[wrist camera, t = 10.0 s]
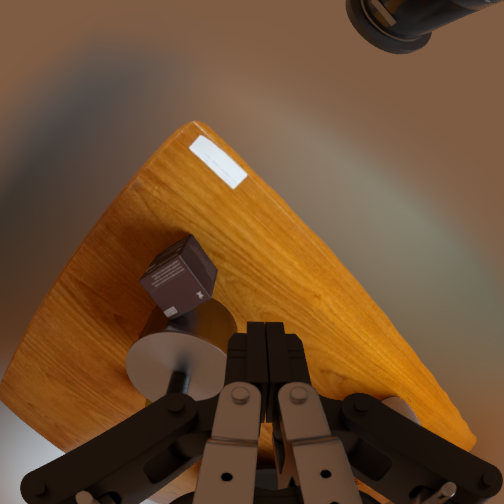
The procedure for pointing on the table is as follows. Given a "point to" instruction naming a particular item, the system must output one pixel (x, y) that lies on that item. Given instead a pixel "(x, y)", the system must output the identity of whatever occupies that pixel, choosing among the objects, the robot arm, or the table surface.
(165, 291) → the box
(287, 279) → the table surface
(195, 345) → the pot lid
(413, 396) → the table surface
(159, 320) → the pot
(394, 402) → the mug
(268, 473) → the plate
